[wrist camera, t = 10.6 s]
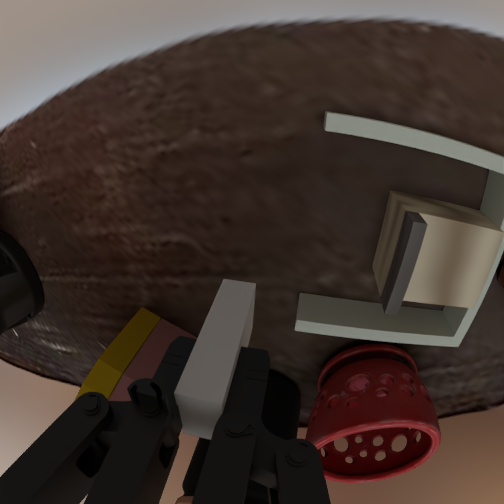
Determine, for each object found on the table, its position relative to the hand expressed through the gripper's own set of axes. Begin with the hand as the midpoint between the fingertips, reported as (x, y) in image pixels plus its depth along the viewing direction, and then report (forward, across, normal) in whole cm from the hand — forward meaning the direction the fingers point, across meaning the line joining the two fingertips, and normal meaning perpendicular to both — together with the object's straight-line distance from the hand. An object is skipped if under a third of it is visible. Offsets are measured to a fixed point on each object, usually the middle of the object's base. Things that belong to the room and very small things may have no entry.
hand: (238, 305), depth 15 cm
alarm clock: (+13, -12, -20) cm, 27 cm away
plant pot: (+12, +13, -17) cm, 25 cm away
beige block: (+12, +14, 0) cm, 19 cm away
